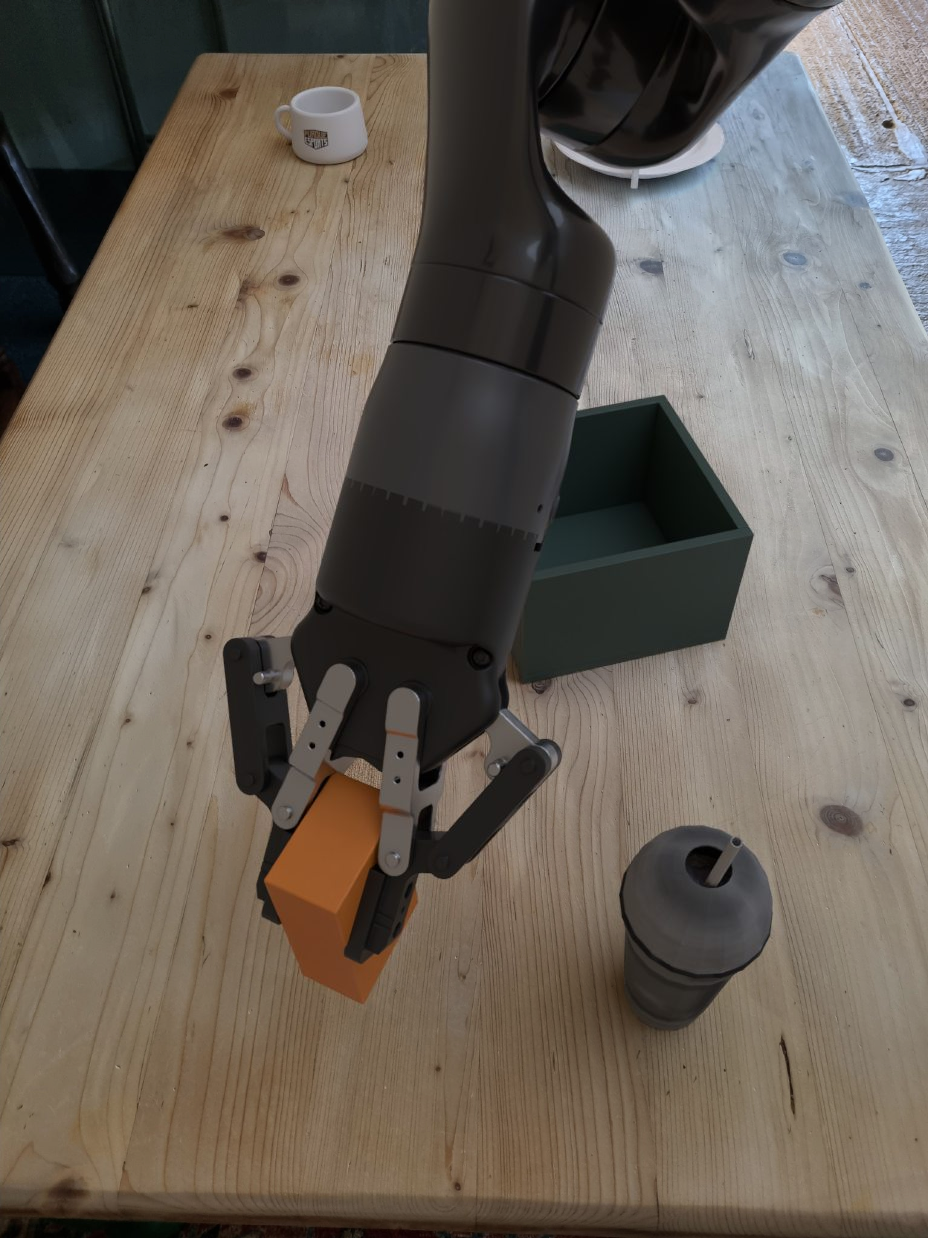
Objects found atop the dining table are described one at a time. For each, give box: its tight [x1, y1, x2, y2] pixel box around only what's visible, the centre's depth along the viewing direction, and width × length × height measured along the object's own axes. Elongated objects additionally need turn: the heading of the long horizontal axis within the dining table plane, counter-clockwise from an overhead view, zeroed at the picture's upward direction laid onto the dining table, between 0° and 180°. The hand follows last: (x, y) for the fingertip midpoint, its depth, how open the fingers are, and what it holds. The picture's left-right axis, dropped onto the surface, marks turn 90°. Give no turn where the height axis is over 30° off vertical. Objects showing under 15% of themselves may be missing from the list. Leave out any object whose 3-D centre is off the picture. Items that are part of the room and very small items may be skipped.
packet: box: [264, 772, 419, 1005], centre depth 39 cm, size 3×5×9 cm, turn 155°
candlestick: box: [553, 122, 725, 189], centre depth 110 cm, size 21×25×28 cm
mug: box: [273, 86, 369, 165], centre depth 124 cm, size 12×10×6 cm
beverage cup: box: [618, 824, 774, 1032], centre depth 49 cm, size 7×7×20 cm
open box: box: [510, 394, 755, 685], centre depth 73 cm, size 16×16×11 cm
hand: (322, 932), depth 38 cm, fingers closed on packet, 3 cm apart
